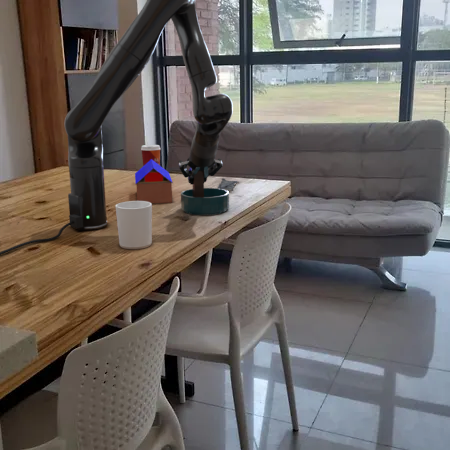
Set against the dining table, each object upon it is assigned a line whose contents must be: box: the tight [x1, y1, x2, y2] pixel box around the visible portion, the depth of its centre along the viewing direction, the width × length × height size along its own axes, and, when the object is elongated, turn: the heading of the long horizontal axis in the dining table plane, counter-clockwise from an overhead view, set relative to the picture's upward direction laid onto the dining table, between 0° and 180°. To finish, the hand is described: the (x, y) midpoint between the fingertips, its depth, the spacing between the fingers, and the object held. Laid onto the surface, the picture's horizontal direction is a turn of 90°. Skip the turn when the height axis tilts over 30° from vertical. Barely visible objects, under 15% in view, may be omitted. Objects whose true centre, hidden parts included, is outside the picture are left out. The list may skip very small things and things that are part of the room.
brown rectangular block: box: [191, 171, 205, 197], centre depth 183 cm, size 3×3×9 cm
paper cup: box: [140, 144, 162, 167], centre depth 229 cm, size 8×8×14 cm
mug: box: [115, 200, 153, 250], centre depth 149 cm, size 11×9×10 cm
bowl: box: [180, 187, 230, 216], centre depth 184 cm, size 15×15×6 cm
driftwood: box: [217, 177, 239, 191], centre depth 218 cm, size 21×7×2 cm, turn 173°
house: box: [134, 159, 174, 204], centre depth 202 cm, size 12×20×12 cm, turn 9°
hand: (196, 181), depth 185 cm, fingers closed on brown rectangular block, 3 cm apart
